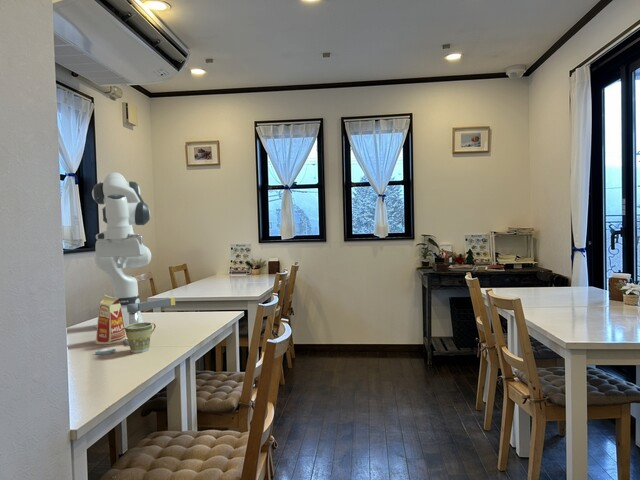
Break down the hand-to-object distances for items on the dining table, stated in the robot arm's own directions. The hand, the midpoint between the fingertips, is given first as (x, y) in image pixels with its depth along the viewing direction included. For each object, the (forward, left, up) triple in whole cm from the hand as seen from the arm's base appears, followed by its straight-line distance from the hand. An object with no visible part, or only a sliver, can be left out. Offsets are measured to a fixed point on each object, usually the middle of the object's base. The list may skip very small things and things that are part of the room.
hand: (121, 267), depth 187 cm
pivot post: (+2, +2, -32) cm, 32 cm away
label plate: (-1, -13, -32) cm, 34 cm away
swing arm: (+7, +9, -19) cm, 22 cm away
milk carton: (-10, +4, -32) cm, 34 cm away
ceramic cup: (+13, -8, -32) cm, 35 cm away
